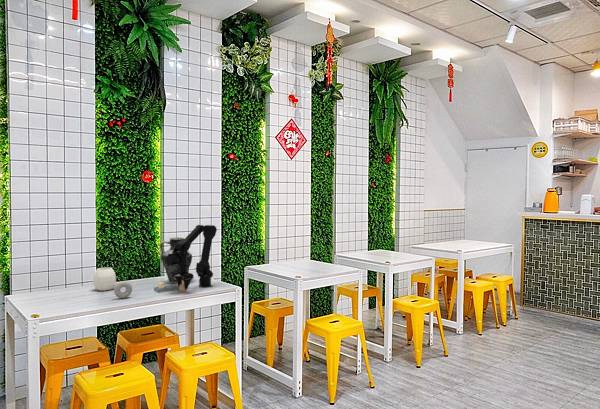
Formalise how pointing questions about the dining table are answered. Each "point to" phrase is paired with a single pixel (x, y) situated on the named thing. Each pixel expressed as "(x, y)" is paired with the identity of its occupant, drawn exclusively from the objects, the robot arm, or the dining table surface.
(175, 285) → the carton
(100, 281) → the cream rounded canister
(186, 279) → the robot arm
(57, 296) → the dining table surface
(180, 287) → the egg
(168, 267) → the jug
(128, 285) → the grey ring
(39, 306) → the dining table surface
